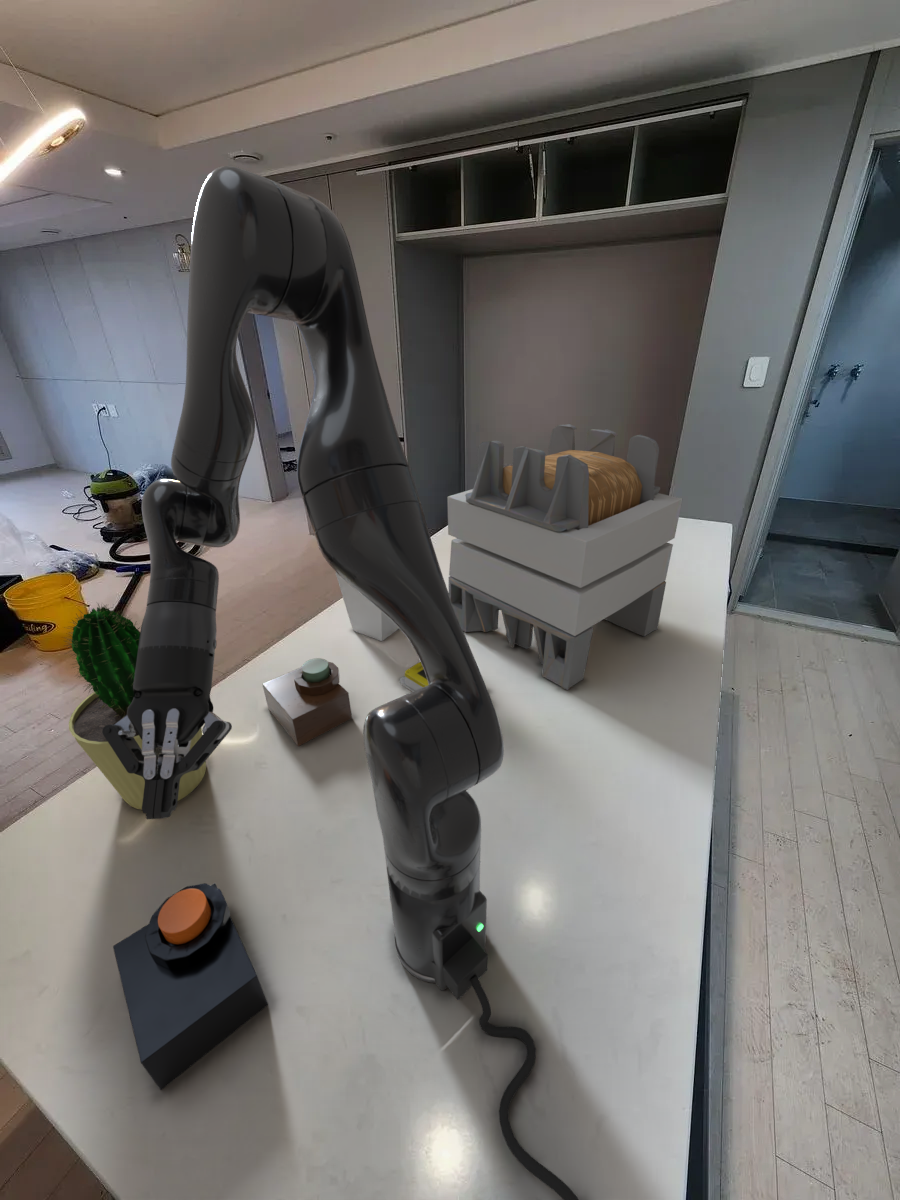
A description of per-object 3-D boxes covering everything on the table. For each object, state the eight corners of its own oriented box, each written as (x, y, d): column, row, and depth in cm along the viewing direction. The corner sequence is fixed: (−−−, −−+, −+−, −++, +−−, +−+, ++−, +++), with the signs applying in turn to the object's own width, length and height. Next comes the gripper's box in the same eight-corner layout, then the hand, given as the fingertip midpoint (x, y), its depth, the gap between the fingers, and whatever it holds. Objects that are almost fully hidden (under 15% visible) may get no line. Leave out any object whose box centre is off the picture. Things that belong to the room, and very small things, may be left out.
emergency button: (431, 642, 100) (490, 674, 90) (432, 661, 102) (490, 693, 93) (395, 663, 94) (455, 699, 85) (397, 682, 96) (455, 719, 87)
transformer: (445, 622, 115) (441, 437, 95) (539, 578, 133) (551, 415, 114) (568, 693, 92) (595, 470, 73) (660, 628, 111) (701, 436, 91)
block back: (358, 715, 88) (353, 681, 85) (298, 746, 82) (290, 710, 78) (324, 683, 96) (319, 650, 93) (268, 709, 90) (259, 675, 86)
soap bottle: (415, 624, 114) (408, 514, 102) (386, 645, 107) (375, 530, 94) (373, 610, 120) (362, 504, 108) (343, 629, 113) (327, 518, 100)
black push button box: (269, 1003, 51) (254, 964, 47) (160, 1090, 45) (134, 1053, 42) (227, 910, 59) (211, 870, 56) (130, 974, 54) (106, 934, 50)
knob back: (334, 676, 86) (333, 666, 85) (310, 686, 84) (309, 676, 83) (322, 664, 89) (320, 654, 88) (299, 674, 87) (297, 664, 86)
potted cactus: (228, 793, 74) (170, 616, 59) (106, 841, 67) (6, 656, 53) (213, 729, 86) (161, 568, 71) (108, 765, 79) (27, 596, 65)
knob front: (217, 923, 51) (212, 912, 50) (170, 955, 49) (164, 943, 48) (203, 891, 54) (198, 879, 53) (158, 919, 52) (152, 907, 51)
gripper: (94, 644, 52) (65, 826, 48) (224, 640, 53) (208, 820, 48) (136, 657, 60) (114, 816, 55) (249, 653, 60) (238, 810, 55)
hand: (158, 817), depth 51 cm, fingers closed
